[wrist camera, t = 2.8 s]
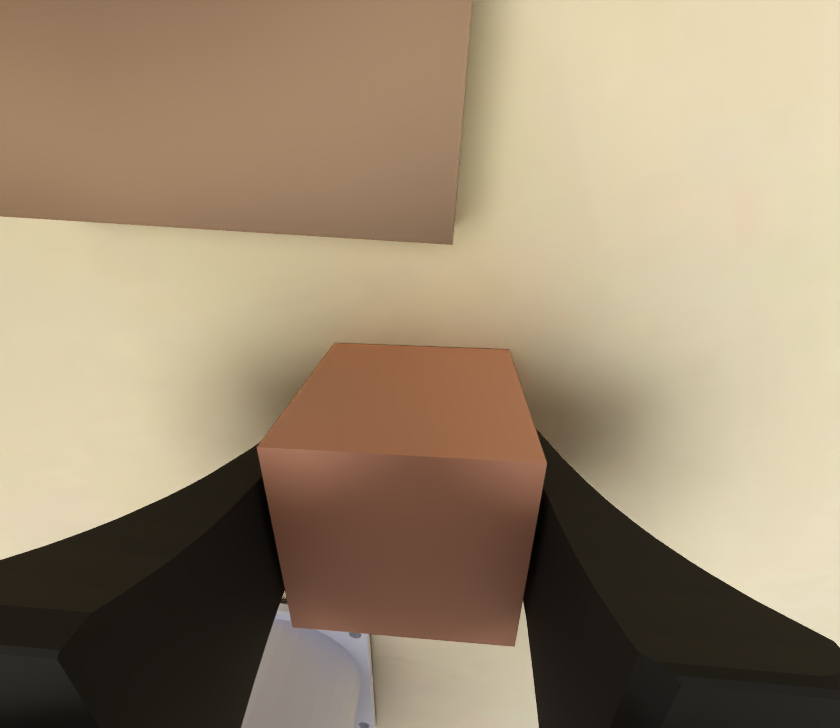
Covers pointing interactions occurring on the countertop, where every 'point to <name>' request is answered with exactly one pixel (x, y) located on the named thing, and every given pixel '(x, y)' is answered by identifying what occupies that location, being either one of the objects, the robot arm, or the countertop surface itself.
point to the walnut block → (236, 114)
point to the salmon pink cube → (406, 493)
